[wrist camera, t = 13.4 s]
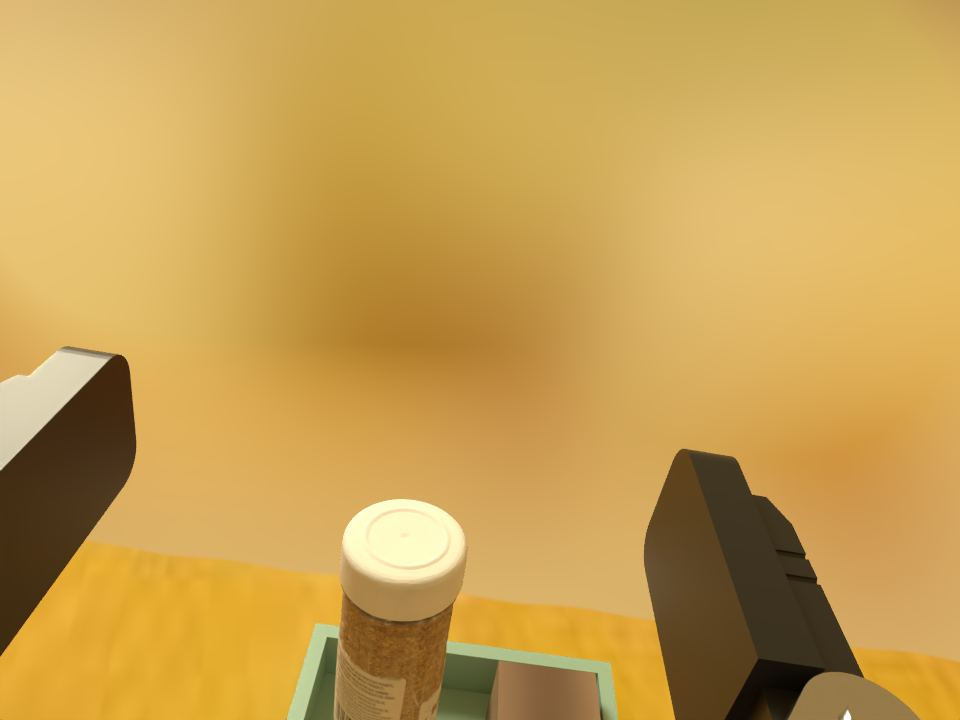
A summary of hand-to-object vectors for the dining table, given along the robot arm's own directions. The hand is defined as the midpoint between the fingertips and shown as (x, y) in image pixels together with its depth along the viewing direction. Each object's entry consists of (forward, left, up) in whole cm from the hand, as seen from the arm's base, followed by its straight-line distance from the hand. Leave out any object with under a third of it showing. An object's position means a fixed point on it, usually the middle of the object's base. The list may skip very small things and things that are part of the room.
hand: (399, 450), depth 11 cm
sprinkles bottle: (0, +11, -26) cm, 28 cm away
